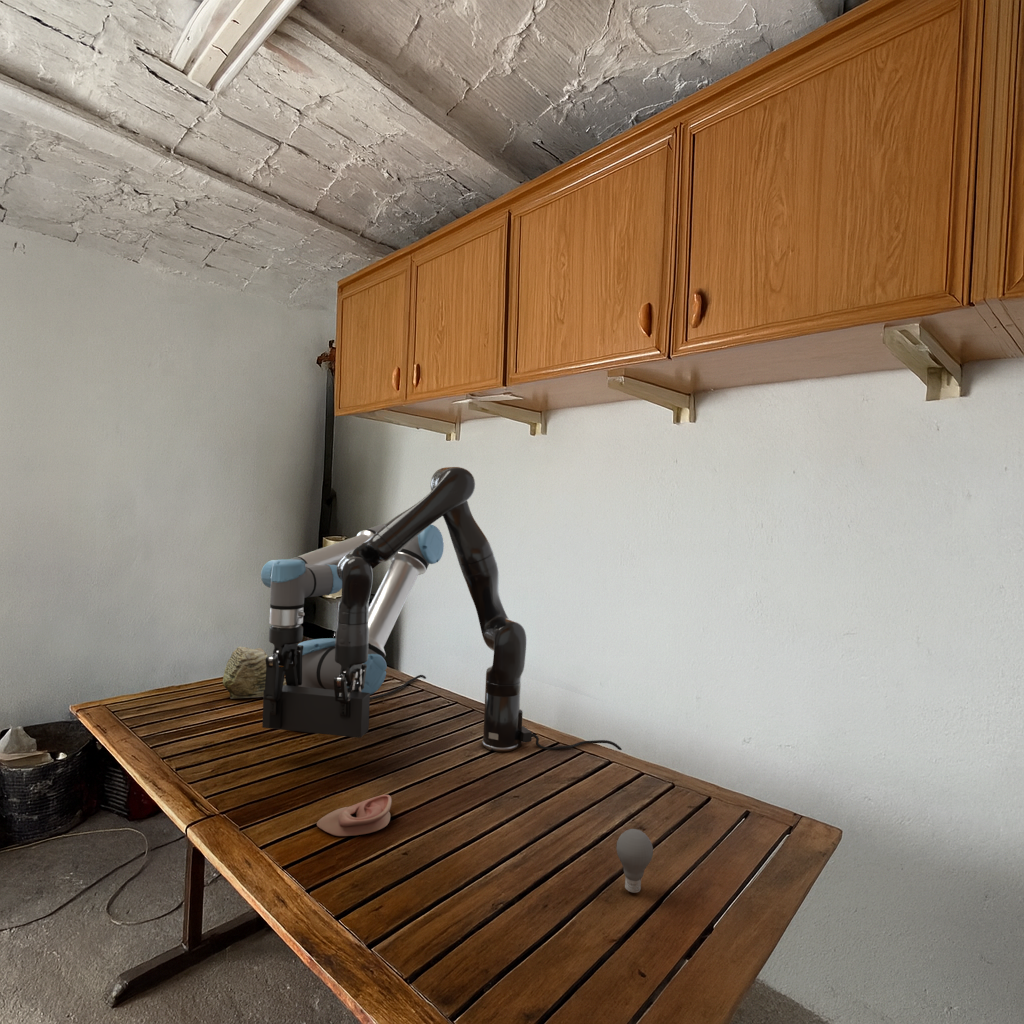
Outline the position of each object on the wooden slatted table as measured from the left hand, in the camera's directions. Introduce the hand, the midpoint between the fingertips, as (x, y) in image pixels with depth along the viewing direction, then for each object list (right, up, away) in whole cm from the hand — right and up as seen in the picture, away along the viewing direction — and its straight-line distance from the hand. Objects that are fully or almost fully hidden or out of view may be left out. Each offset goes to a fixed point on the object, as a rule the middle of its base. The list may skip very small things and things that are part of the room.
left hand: (282, 722), depth 150 cm
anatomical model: (+24, -11, -26) cm, 37 cm away
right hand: (+16, +3, -2) cm, 17 cm away
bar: (+8, -1, -1) cm, 8 cm away
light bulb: (+74, -14, -44) cm, 88 cm away
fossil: (-26, -7, +48) cm, 55 cm away
